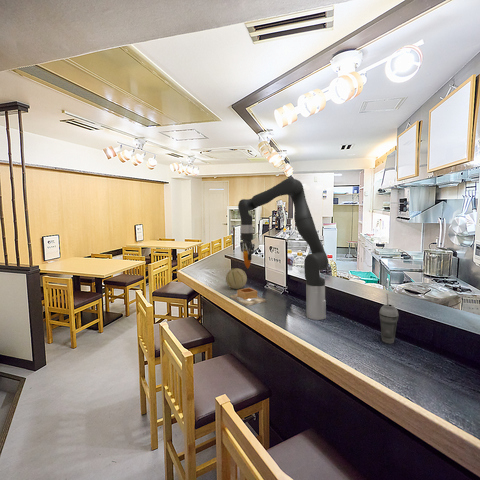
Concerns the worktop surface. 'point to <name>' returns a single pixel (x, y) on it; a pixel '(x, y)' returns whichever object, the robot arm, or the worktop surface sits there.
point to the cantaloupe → (236, 278)
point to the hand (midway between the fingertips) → (247, 259)
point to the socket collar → (247, 294)
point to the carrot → (246, 259)
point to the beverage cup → (388, 322)
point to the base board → (247, 303)
